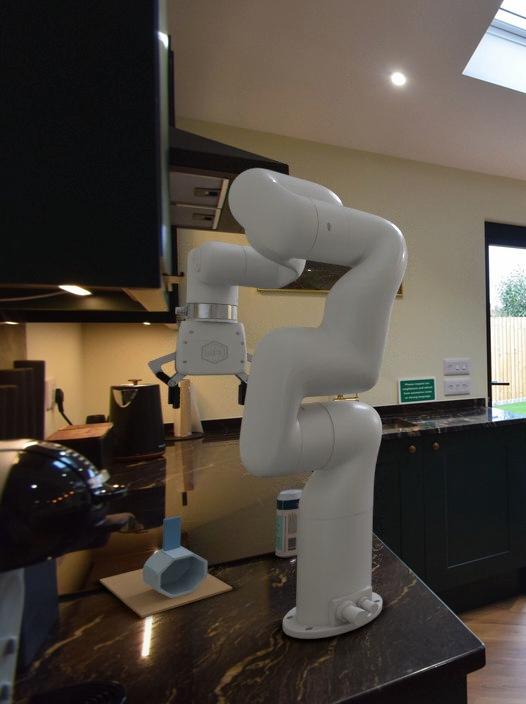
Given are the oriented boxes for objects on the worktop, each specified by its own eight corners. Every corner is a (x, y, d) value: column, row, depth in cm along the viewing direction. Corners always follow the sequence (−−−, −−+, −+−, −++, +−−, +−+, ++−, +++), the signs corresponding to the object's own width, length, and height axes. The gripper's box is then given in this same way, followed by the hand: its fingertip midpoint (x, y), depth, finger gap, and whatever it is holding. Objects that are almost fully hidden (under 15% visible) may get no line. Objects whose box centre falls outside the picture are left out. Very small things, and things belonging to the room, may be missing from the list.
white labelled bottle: (311, 550, 103) (312, 488, 103) (292, 559, 98) (294, 495, 98) (288, 549, 103) (290, 488, 103) (269, 558, 98) (270, 494, 99)
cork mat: (232, 589, 85) (232, 587, 85) (141, 618, 76) (141, 615, 76) (183, 560, 97) (183, 558, 97) (99, 581, 88) (99, 579, 88)
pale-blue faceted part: (141, 591, 83) (143, 521, 83) (190, 578, 88) (192, 511, 89) (156, 603, 79) (158, 529, 80) (206, 588, 85) (208, 518, 85)
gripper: (152, 310, 89) (149, 411, 88) (273, 316, 102) (271, 404, 101) (146, 313, 94) (144, 408, 93) (262, 318, 107) (261, 402, 106)
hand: (210, 406), depth 97 cm, fingers open, 9 cm apart
